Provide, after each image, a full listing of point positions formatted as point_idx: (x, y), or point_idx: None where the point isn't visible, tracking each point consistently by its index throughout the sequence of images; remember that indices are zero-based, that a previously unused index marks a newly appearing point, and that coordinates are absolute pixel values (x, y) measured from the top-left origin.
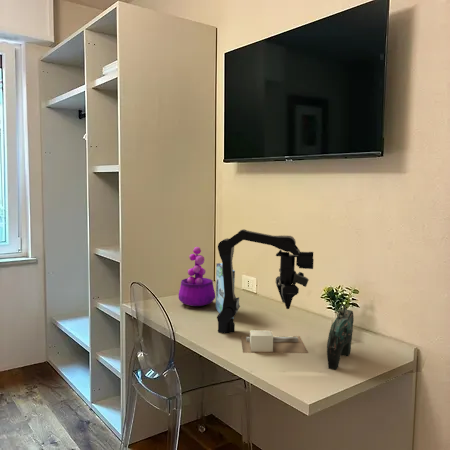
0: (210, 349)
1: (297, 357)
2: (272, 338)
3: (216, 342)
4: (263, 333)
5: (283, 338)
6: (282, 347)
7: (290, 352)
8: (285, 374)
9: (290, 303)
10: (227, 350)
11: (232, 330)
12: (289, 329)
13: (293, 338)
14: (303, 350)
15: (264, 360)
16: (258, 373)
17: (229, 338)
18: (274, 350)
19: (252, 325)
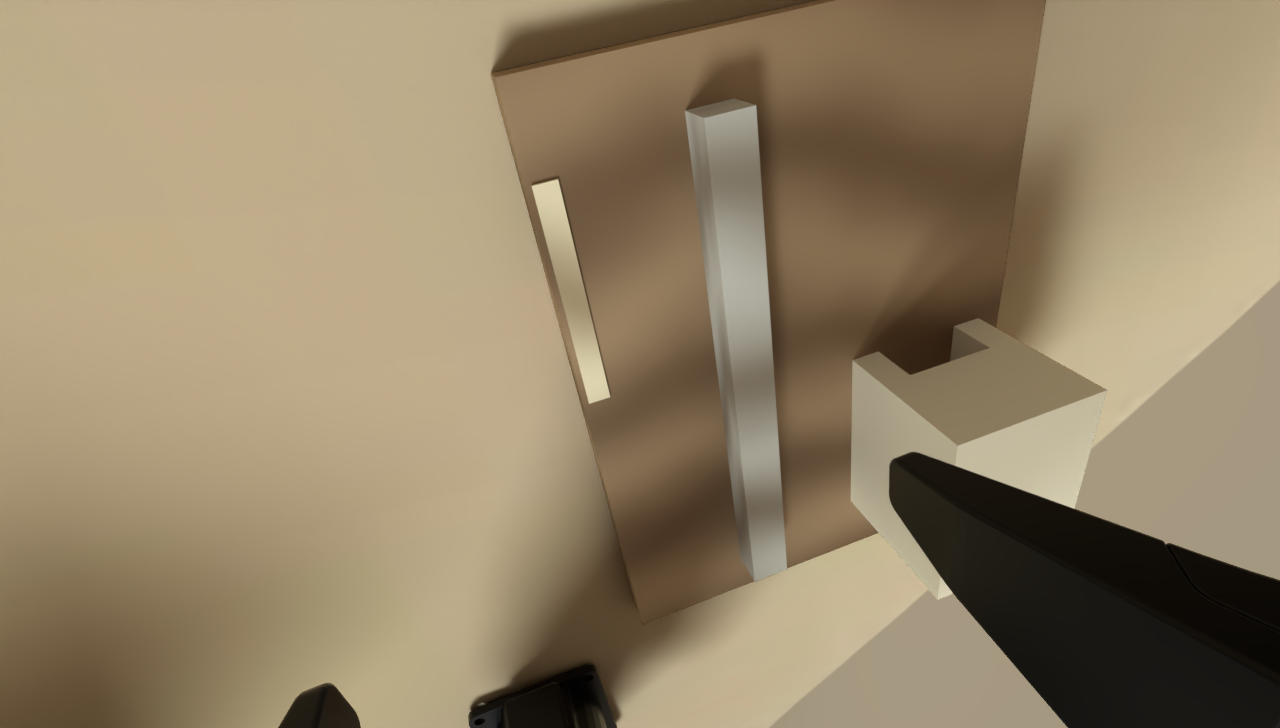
0: (847, 656)
1: (1033, 81)
2: (1081, 380)
3: (731, 683)
4: (1030, 483)
5: (767, 283)
6: (893, 254)
7: (1015, 162)
8: (1276, 160)
9: (1078, 520)
10: (862, 584)
11: (574, 712)
12: (72, 264)
13: (758, 166)
14: (982, 17)
15: (1042, 340)
16: (1205, 329)
17: (639, 660)
18: (954, 310)
19: (183, 666)
